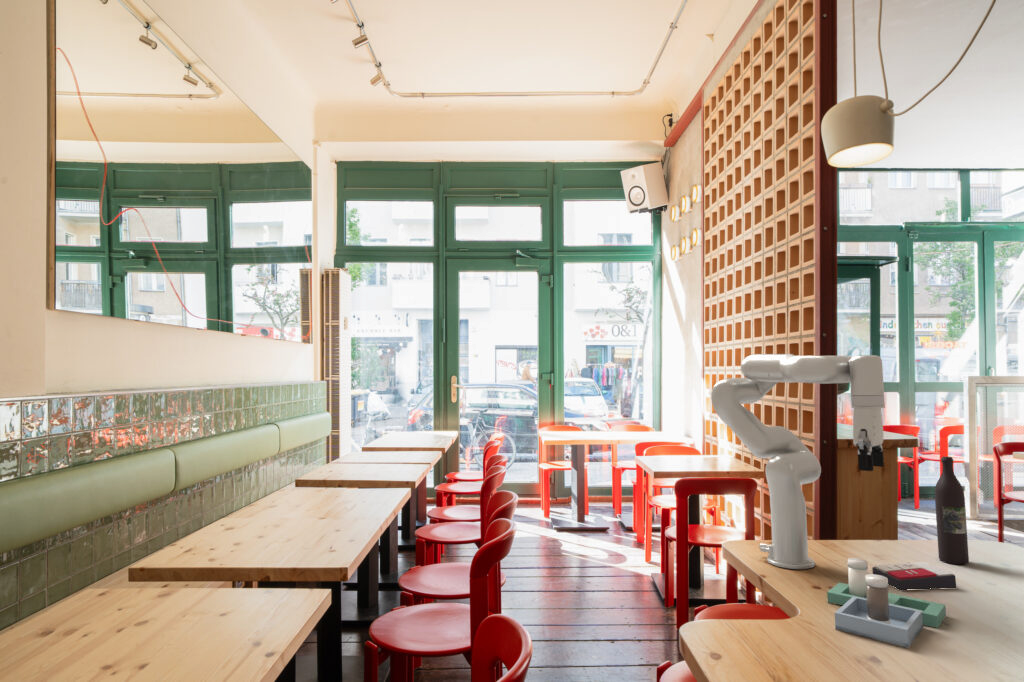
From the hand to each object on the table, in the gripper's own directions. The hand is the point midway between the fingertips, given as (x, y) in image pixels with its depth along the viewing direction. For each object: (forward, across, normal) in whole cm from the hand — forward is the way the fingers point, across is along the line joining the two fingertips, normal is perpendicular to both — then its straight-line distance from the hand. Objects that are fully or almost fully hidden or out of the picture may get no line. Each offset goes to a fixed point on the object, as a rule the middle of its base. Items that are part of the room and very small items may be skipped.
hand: (871, 468), depth 156 cm
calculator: (+31, -10, +6) cm, 33 cm away
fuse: (+30, +15, 0) cm, 34 cm away
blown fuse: (+30, +28, +7) cm, 41 cm away
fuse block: (+30, +15, +5) cm, 34 cm away
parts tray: (+30, +28, +7) cm, 42 cm away
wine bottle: (+31, -38, +10) cm, 50 cm away
